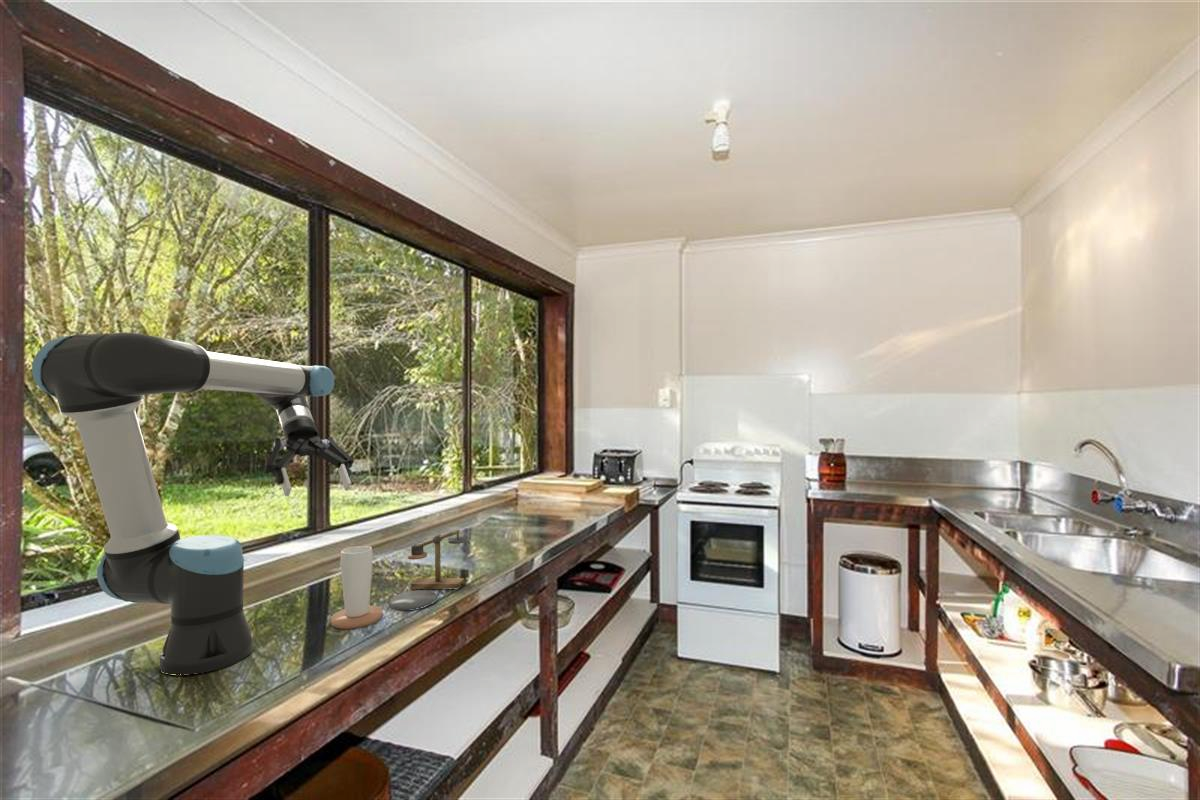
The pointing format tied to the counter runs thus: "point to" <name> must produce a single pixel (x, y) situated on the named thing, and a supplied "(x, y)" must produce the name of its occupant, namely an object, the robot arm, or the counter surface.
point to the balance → (436, 563)
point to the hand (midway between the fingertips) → (319, 489)
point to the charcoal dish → (412, 599)
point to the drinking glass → (356, 579)
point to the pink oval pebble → (356, 619)
